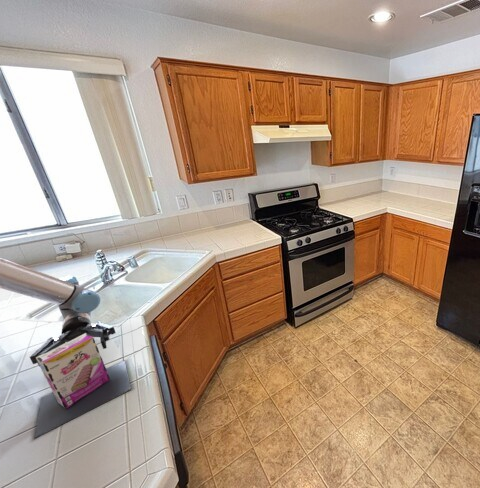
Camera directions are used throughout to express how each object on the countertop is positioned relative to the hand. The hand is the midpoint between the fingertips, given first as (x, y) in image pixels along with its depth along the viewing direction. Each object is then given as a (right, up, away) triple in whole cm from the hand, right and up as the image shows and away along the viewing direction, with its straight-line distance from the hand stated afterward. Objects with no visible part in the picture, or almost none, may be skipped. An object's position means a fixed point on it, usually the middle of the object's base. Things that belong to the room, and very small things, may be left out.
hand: (75, 356), depth 79 cm
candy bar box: (+5, -10, -2) cm, 11 cm away
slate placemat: (+6, -10, -2) cm, 12 cm away
